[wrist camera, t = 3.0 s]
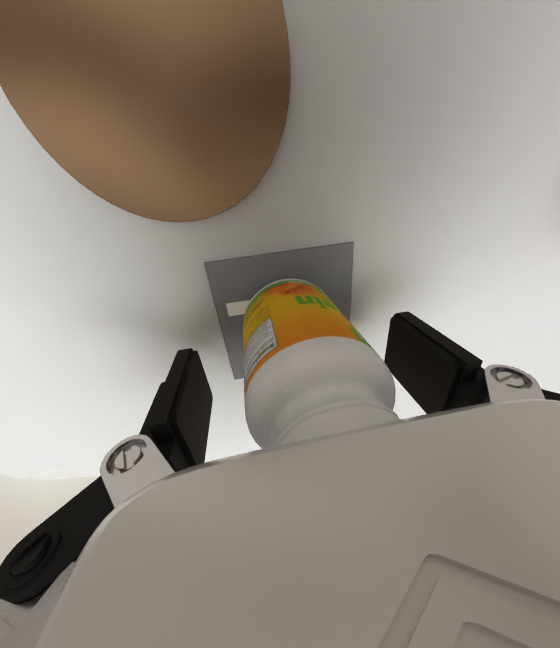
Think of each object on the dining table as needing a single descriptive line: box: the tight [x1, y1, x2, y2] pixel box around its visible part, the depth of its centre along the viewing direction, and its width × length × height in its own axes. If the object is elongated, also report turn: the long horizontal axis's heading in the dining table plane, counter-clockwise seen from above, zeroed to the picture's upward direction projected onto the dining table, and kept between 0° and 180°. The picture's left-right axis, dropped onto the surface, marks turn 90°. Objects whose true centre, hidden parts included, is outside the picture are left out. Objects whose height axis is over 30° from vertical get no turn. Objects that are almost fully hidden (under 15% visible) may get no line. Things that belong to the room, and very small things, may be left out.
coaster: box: [0, 0, 290, 222], centre depth 8 cm, size 10×10×1 cm
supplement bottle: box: [243, 278, 400, 449], centre depth 10 cm, size 5×5×10 cm
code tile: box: [204, 242, 354, 379], centre depth 14 cm, size 8×8×1 cm
